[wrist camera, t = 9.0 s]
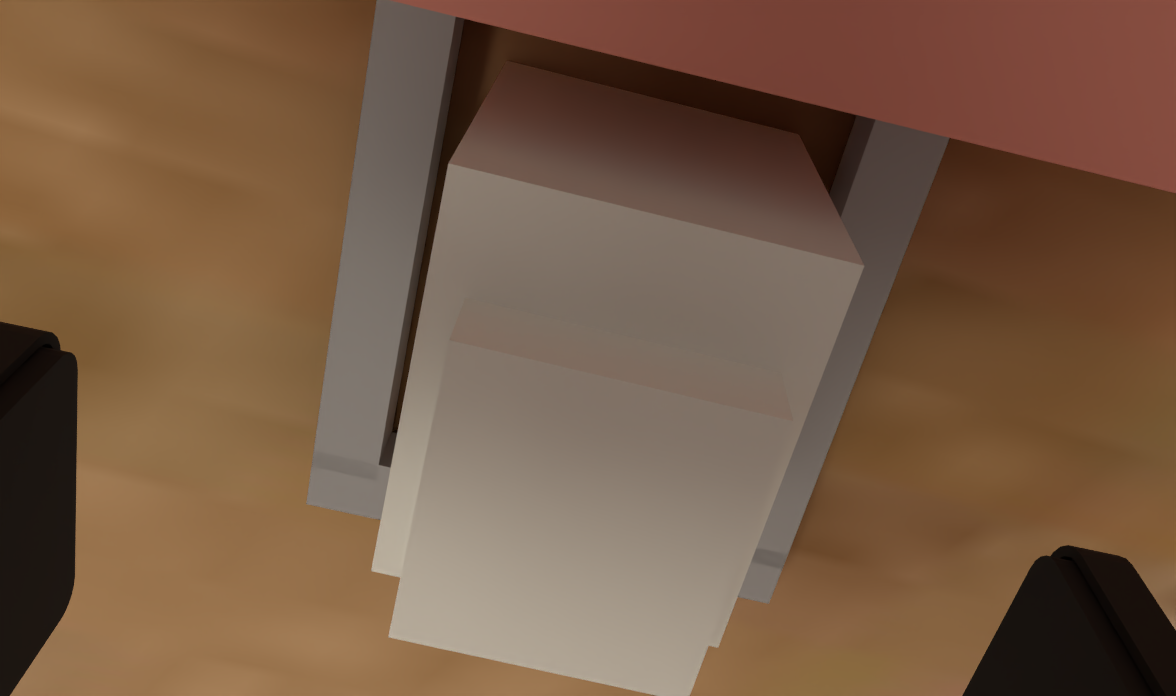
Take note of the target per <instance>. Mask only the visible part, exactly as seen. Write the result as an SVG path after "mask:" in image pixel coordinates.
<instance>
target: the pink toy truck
mask: <svg viewBox="0 0 1176 696" xmlns="http://www.w3.org/2000/svg"><path fill="white" fill-rule="evenodd" d="M465 19H468V20H472V21H476V22H480V23H484V24H488V25H492V26H496V27H500V28H505V29H509V30H513V31H517V32H521V33H525V34H529V35H533V36H537V37H541V38H545V39H549V40H553V41H557V42H562V43H566V44H570V45H574V46H578V47H582V48H586V49H590V50H594V51H598V52H602V53H606V54H610V55H615V56H619V57H623V58H627V59H631V60H635V61H639V62H643V63H647V64H651V65H655V66H659V67H663V68H667V69H672V70H676V71H680V72H684V73H688V74H692V75H696V76H700V77H704V78H708V79H712V80H716V81H720V82H725V83H729V84H733V85H737V86H741V87H745V88H749V89H753V90H757V91H761V92H765V93H769V94H773V95H777V96H782V97H786V98H790V99H794V100H798V101H802V102H806V103H810V104H814V105H818V106H822V107H826V108H830V109H835V110H839V111H843V112H847V113H851V114H855V115H856V118H855V121H854V124H853V127H852V130H851V133H850V136H849V138H848V141H847V144H846V147H845V150H844V153H843V156H842V159H841V162H840V164H839V167H838V170H837V173H836V176H835V179H834V182H833V185H832V188H831V190H830V193H829V196H830V198H831V200H832V202H833V204H834V206H835V208H836V210H837V212H838V214H839V216H840V218H841V220H842V222H843V224H844V226H845V228H846V230H847V232H848V234H849V236H850V238H851V240H852V242H853V244H854V246H855V248H856V250H857V252H858V254H859V256H860V258H861V260H862V262H863V264H864V268H863V271H862V273H861V276H860V279H859V281H858V284H857V287H856V289H855V292H854V294H853V297H852V300H851V302H850V305H849V307H848V310H847V313H846V315H845V318H844V320H843V323H842V326H841V328H840V331H839V333H838V336H837V339H836V341H835V344H834V347H833V349H832V352H831V354H830V357H829V360H828V362H827V365H826V367H825V370H824V373H823V375H822V378H821V380H820V383H819V386H818V388H817V391H816V393H815V396H814V399H813V401H812V404H811V407H810V409H809V412H808V414H807V417H806V420H805V422H804V425H803V427H802V430H801V433H800V435H799V438H798V440H797V443H796V446H795V448H794V451H793V453H792V456H791V459H790V461H789V464H788V467H787V469H786V472H785V474H784V477H783V480H782V482H781V485H780V487H779V490H778V493H777V495H776V498H775V500H774V503H773V506H772V508H771V511H770V513H769V516H768V519H767V521H766V524H765V527H764V529H763V532H762V534H761V537H760V540H759V542H758V545H757V547H756V550H755V553H754V555H753V558H752V560H751V563H750V566H749V568H748V571H747V573H746V576H745V579H744V581H743V584H742V587H741V589H740V592H739V594H738V597H740V598H745V599H749V600H754V601H759V602H763V603H768V604H769V602H770V599H771V597H772V594H773V592H774V589H775V586H776V584H777V581H778V579H779V576H780V574H781V571H782V568H783V566H784V563H785V561H786V558H787V555H788V553H789V550H790V548H791V545H792V543H793V540H794V537H795V535H796V532H797V530H798V527H799V525H800V522H801V519H802V517H803V514H804V512H805V509H806V507H807V504H808V501H809V499H810V496H811V494H812V491H813V489H814V486H815V483H816V481H817V478H818V476H819V473H820V471H821V468H822V465H823V463H824V460H825V458H826V455H827V453H828V450H829V447H830V445H831V442H832V440H833V437H834V435H835V432H836V429H837V427H838V424H839V422H840V419H841V416H842V414H843V411H844V409H845V406H846V404H847V401H848V398H849V396H850V393H851V391H852V388H853V386H854V383H855V380H856V378H857V375H858V373H859V370H860V368H861V365H862V362H863V360H864V357H865V355H866V352H867V350H868V347H869V344H870V342H871V339H872V337H873V334H874V332H875V329H876V326H877V324H878V321H879V319H880V316H881V314H882V311H883V308H884V306H885V303H886V301H887V298H888V295H889V293H890V290H891V288H892V285H893V283H894V280H895V277H896V275H897V272H898V270H899V267H900V265H901V262H902V259H903V257H904V254H905V252H906V249H907V247H908V244H909V241H910V239H911V236H912V234H913V231H914V229H915V226H916V223H917V221H918V218H919V216H920V213H921V211H922V208H923V205H924V203H925V200H926V198H927V195H928V193H929V190H930V187H931V185H932V182H933V180H934V177H935V174H936V172H937V169H938V167H939V164H940V162H941V159H942V156H943V154H944V151H945V149H946V146H947V144H948V141H949V138H953V139H957V140H961V141H965V142H969V143H973V144H977V145H981V146H985V147H989V148H993V149H997V150H1002V151H1006V152H1010V153H1014V154H1018V155H1022V156H1026V157H1030V158H1034V159H1038V160H1042V161H1046V162H1050V163H1054V164H1059V165H1063V166H1067V167H1071V168H1075V169H1079V170H1083V171H1087V172H1091V173H1095V174H1099V175H1103V176H1107V177H1112V178H1116V179H1120V180H1124V181H1128V182H1132V183H1136V184H1140V185H1144V186H1148V187H1152V188H1156V189H1160V190H1164V191H1169V192H1173V193H1176V0H377V2H376V9H375V16H374V24H373V31H372V38H371V45H370V52H369V59H368V67H367V74H366V81H365V88H364V95H363V102H362V110H361V117H360V124H359V131H358V138H357V145H356V152H355V160H354V167H353V174H352V181H351V188H350V195H349V203H348V210H347V217H346V224H345V231H344V238H343V246H342V253H341V260H340V267H339V274H338V281H337V288H336V296H335V303H334V310H333V317H332V324H331V331H330V339H329V346H328V353H327V360H326V367H325V374H324V382H323V389H322V396H321V403H320V410H319V417H318V424H317V432H316V439H315V446H314V453H313V460H312V467H311V475H310V482H309V489H308V496H307V503H306V504H309V505H313V506H318V507H323V508H327V509H332V510H336V511H341V512H346V513H350V514H355V515H360V516H364V517H369V518H374V519H378V520H381V517H382V511H383V506H384V501H385V495H386V490H387V485H388V480H389V474H390V469H391V464H392V458H393V453H394V448H395V443H396V437H397V433H395V432H392V429H393V424H394V418H395V412H396V406H397V401H398V395H399V389H400V384H401V378H402V372H403V367H404V361H405V355H406V350H407V344H408V338H409V333H410V327H411V321H412V316H413V310H414V304H415V298H416V293H417V287H418V281H419V276H420V270H421V264H422V259H423V253H424V247H425V242H426V236H427V230H428V225H429V219H430V213H431V207H432V202H433V196H434V190H435V185H436V179H437V173H438V168H439V162H440V156H441V151H442V145H443V139H444V134H445V128H446V122H447V117H448V111H449V105H450V99H451V94H452V88H453V82H454V77H455V71H456V65H457V60H458V54H459V48H460V43H461V37H462V31H463V26H464V20H465Z"/></svg>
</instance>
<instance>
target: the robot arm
mask: <svg viewBox="0 0 1176 696" xmlns="http://www.w3.org/2000/svg"><path fill="white" fill-rule="evenodd" d="M77 378H78V369H77V360H76V357H75V355H73V354H72V353H70V352H66V351H61V350H60V344H59V341H58V338H57V336H56V335H54V334H53V333H52V332H47V331H42V330H37V329H33V328H28V327H23V326H18V325H13V324H9V323H4V322H0V696H10V694H11V693H12V691H13V690H14V688H15V687H16V685H17V684H18V682H19V681H20V679H21V678H22V677H23V675H24V674H25V672H26V671H27V669H28V668H29V666H30V665H31V663H32V662H33V660H34V659H35V657H36V656H37V654H38V653H39V651H40V650H41V648H42V647H43V645H44V644H45V642H46V641H47V639H48V638H49V636H50V635H51V633H52V632H53V630H54V629H55V627H56V626H57V624H58V623H59V621H60V620H61V618H62V616H63V615H64V613H65V611H66V608H67V606H68V604H69V601H70V598H71V595H72V591H73V586H74V579H75V526H76V452H77ZM963 696H1176V630H1175V629H1174V627H1173V626H1172V624H1171V623H1170V621H1169V620H1168V618H1167V617H1166V615H1165V614H1164V612H1163V611H1162V609H1161V608H1160V606H1159V605H1158V603H1157V602H1156V600H1155V598H1154V597H1153V595H1152V594H1151V592H1150V591H1149V589H1148V588H1147V586H1146V585H1145V583H1144V582H1143V580H1142V579H1141V577H1140V576H1139V574H1138V573H1137V571H1136V570H1135V568H1134V567H1133V565H1132V564H1131V563H1130V562H1129V561H1128V560H1127V559H1126V558H1123V557H1120V556H1117V555H1112V554H1107V553H1103V552H1098V551H1093V550H1088V549H1084V548H1079V547H1074V546H1069V545H1067V546H1062V547H1060V548H1058V549H1057V550H1056V551H1054V552H1053V554H1052V555H1051V556H1041V557H1040V558H1038V559H1037V560H1036V561H1035V562H1034V564H1033V565H1032V566H1031V568H1030V570H1029V572H1028V574H1027V576H1026V577H1025V579H1024V581H1023V583H1022V585H1021V587H1020V589H1019V591H1018V592H1017V594H1016V596H1015V598H1014V600H1013V602H1012V604H1011V606H1010V607H1009V609H1008V611H1007V613H1006V615H1005V617H1004V619H1003V621H1002V622H1001V624H1000V626H999V628H998V630H997V632H996V634H995V636H994V637H993V639H992V641H991V643H990V645H989V647H988V649H987V651H986V652H985V654H984V656H983V658H982V660H981V662H980V664H979V666H978V667H977V669H976V671H975V673H974V675H973V677H972V679H971V681H970V682H969V684H968V686H967V688H966V690H965V692H964V694H963Z"/></svg>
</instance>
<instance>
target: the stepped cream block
mask: <svg viewBox="0 0 1176 696" xmlns="http://www.w3.org/2000/svg"><path fill="white" fill-rule="evenodd" d="M863 268H864V264H863V262H862V260H861V258H860V256H859V254H858V252H857V250H856V248H855V246H854V244H853V242H852V240H851V238H850V236H849V234H848V232H847V230H846V228H845V226H844V224H843V222H842V220H841V218H840V216H839V214H838V212H837V210H836V208H835V206H834V204H833V202H832V200H831V198H830V196H829V194H828V192H827V190H826V188H825V186H824V184H823V182H822V180H821V178H820V176H819V174H818V172H817V170H816V168H815V166H814V164H813V162H812V160H811V158H810V156H809V154H808V152H807V150H806V148H805V146H804V144H803V142H802V140H801V138H800V136H799V134H795V133H791V132H788V131H784V130H780V129H776V128H772V127H768V126H764V125H760V124H756V123H752V122H748V121H744V120H740V119H736V118H732V117H728V116H724V115H720V114H716V113H712V112H708V111H705V110H701V109H697V108H693V107H689V106H685V105H681V104H677V103H673V102H669V101H665V100H661V99H657V98H653V97H649V96H645V95H641V94H637V93H633V92H629V91H626V90H622V89H618V88H614V87H610V86H606V85H602V84H598V83H594V82H590V81H586V80H582V79H578V78H574V77H570V76H566V75H562V74H558V73H554V72H550V71H547V70H543V69H539V68H535V67H531V66H527V65H523V64H519V63H515V62H511V61H506V63H505V64H504V66H503V68H502V70H501V72H500V73H499V75H498V77H497V79H496V80H495V82H494V84H493V86H492V87H491V89H490V91H489V93H488V94H487V96H486V98H485V100H484V101H483V103H482V105H481V107H480V109H479V110H478V112H477V114H476V116H475V117H474V119H473V121H472V123H471V124H470V126H469V128H468V130H467V131H466V133H465V135H464V137H463V138H462V140H461V142H460V144H459V145H458V147H457V149H456V151H455V153H454V154H453V156H452V158H451V160H450V161H449V163H448V168H447V173H446V179H445V184H444V189H443V194H442V200H441V205H440V210H439V216H438V221H437V226H436V231H435V237H434V242H433V247H432V252H431V258H430V263H429V268H428V274H427V279H426V284H425V289H424V295H423V300H422V305H421V311H420V316H419V321H418V326H417V332H416V337H415V342H414V348H413V353H412V358H411V363H410V369H409V374H408V379H407V385H406V390H405V395H404V400H403V406H402V411H401V416H400V421H399V427H398V432H397V437H396V443H395V448H394V453H393V458H392V464H391V469H390V474H389V480H388V485H387V490H386V495H385V501H384V506H383V511H382V517H381V522H380V527H379V532H378V538H377V543H376V548H375V554H374V559H373V564H372V569H371V571H373V572H378V573H382V574H387V575H392V576H396V577H401V578H400V583H399V588H398V593H397V597H396V602H395V607H394V612H393V617H392V622H391V627H390V632H389V636H388V637H390V638H394V639H399V640H403V641H408V642H413V643H417V644H422V645H426V646H431V647H436V648H440V649H445V650H449V651H454V652H459V653H463V654H468V655H472V656H477V657H482V658H486V659H491V660H495V661H500V662H505V663H509V664H514V665H518V666H523V667H528V668H532V669H537V670H541V671H546V672H551V673H555V674H560V675H564V676H569V677H574V678H578V679H583V680H587V681H592V682H597V683H601V684H606V685H610V686H615V687H620V688H624V689H629V690H633V691H638V692H643V693H647V694H652V695H656V696H690V693H691V691H692V688H693V685H694V683H695V680H696V677H697V675H698V672H699V670H700V667H701V664H702V662H703V659H704V656H705V654H706V651H707V648H708V646H713V647H717V648H718V647H719V644H720V641H721V639H722V636H723V633H724V631H725V628H726V626H727V623H728V620H729V618H730V615H731V613H732V610H733V607H734V605H735V602H736V600H737V597H738V594H739V592H740V589H741V587H742V584H743V581H744V579H745V576H746V573H747V571H748V568H749V566H750V563H751V560H752V558H753V555H754V553H755V550H756V547H757V545H758V542H759V540H760V537H761V534H762V532H763V529H764V527H765V524H766V521H767V519H768V516H769V513H770V511H771V508H772V506H773V503H774V500H775V498H776V495H777V493H778V490H779V487H780V485H781V482H782V480H783V477H784V474H785V472H786V469H787V467H788V464H789V461H790V459H791V456H792V453H793V451H794V448H795V446H796V443H797V440H798V438H799V435H800V433H801V430H802V427H803V425H804V422H805V420H806V417H807V414H808V412H809V409H810V407H811V404H812V401H813V399H814V396H815V393H816V391H817V388H818V386H819V383H820V380H821V378H822V375H823V373H824V370H825V367H826V365H827V362H828V360H829V357H830V354H831V352H832V349H833V347H834V344H835V341H836V339H837V336H838V333H839V331H840V328H841V326H842V323H843V320H844V318H845V315H846V313H847V310H848V307H849V305H850V302H851V300H852V297H853V294H854V292H855V289H856V287H857V284H858V281H859V279H860V276H861V273H862V271H863Z"/></svg>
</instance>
